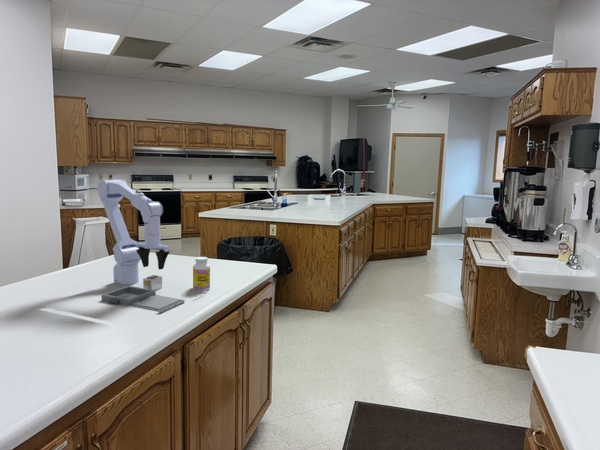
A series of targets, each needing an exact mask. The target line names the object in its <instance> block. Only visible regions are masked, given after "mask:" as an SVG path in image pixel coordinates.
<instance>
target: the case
mask: <svg viewBox="0 0 600 450" xmlns="http://www.w3.org/2000/svg"><path fill="white" fill-rule="evenodd" d="M101 301H103V302H108V303H111V304H116V305H118V304H119V305H124V306H128V307H132V308H134V307H135V308H140V309H143V310H150V311H155V312H157V313H156V314H157V315H161V314H164V313H166V312H168V311H170V310H172V309H175V308H177V307H179V306H181V305H184V304H185V299H180V298H175V297H168V296H164V295H158V294H157V293H156V290H151V289H145V288H143V287H138V286H133V285H125V286H123V287H121V288H118V289H115V290H112V291H109V292H106V293H104V294H101Z"/></svg>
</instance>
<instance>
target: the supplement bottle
mask: <svg viewBox="0 0 600 450" xmlns="http://www.w3.org/2000/svg"><path fill="white" fill-rule="evenodd" d="M208 261H209V259H208V257H207V256H197V257H195V263H194V264H193V267H192V289H193V290H198V291H209V290H210V289H211V265H210V263H208Z"/></svg>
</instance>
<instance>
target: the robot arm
mask: <svg viewBox="0 0 600 450" xmlns="http://www.w3.org/2000/svg"><path fill="white" fill-rule="evenodd" d="M127 182H128V181H125V180H124V179H122V178H119V179H100V180H99V181H98V182H97V187H96V191H97V193H98V196H99V200H100V202H101V203H102V205H103V208H104V210H105V213H106V216H107V218H108V221H109V224H110V227H111V230H112V233H113V235H114V239H115V240H116V243H115V244H114V246H113V247H112V252H113V258H114V261H115V262H116V263H115V264H114V267H113V270H112V271H113V283H114V284H115V283H117V284H119V285H125V286H132V285H135V284H138V283H139V282H140V280H139V279H140V278H139V276H140V275H139V263H140V260H141V264H142V266H143V268H147V267H149V266H150V265H149V263H150V262H149V261H150V259H149V256H150V251H151V250H152V251H153V250H154V251H155V255H156V258H157V267H158V270H164V267H165V264H166V261H167V257H168V255H169V254H170V252H171V251H170V245H166V244H162V243H161V216H162V215H163V213H164V207H163V205H162V203H161V202H159V201H153V200H152V199H151V198H149V197H147V196H146V195H145V194H144V193H143V192H136V191H135V190H133V189H132V188H131V187H130V186H129V185H128V183H127ZM123 197H124V198H126V199H128V200H129V201H130V204H131V205H132V207H135V208H136V209H137V210H138V211H140V215H141V217H142V222H143V223H144V228H143V229H144V242H137V241H136V240H134V239H133V238H132V237H130V234H129V231H128V228H127V226H126V223H125V221H124V217H123V215H122V212H121V209H120V207H119V202H121V201H122V199H123Z"/></svg>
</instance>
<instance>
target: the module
mask: <svg viewBox="0 0 600 450" xmlns="http://www.w3.org/2000/svg"><path fill="white" fill-rule="evenodd" d="M142 281H143V282H142V285H143V287H142V288H145V289H151V290H155V291H157V290H160V289H163V276H161V275H156V274H153V275H150V276H147V277H144V278H142Z"/></svg>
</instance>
